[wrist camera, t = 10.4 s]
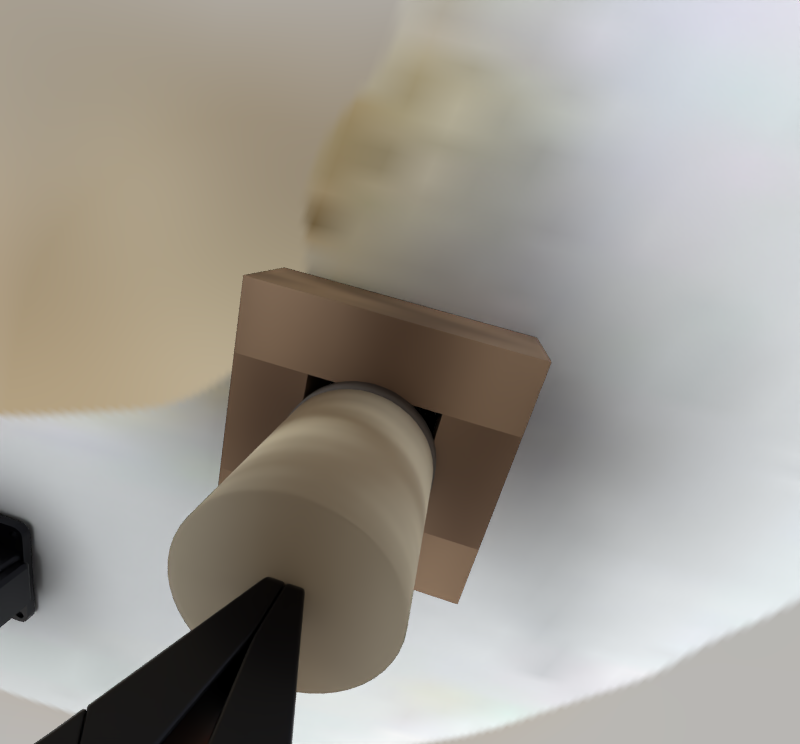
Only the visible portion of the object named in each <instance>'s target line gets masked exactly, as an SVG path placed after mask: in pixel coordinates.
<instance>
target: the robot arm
mask: <svg viewBox="0 0 800 744" xmlns="http://www.w3.org/2000/svg"><path fill="white" fill-rule="evenodd" d="M304 598H305V590H304V589H303V588H301V587H298V586H295V585H292V584H286V585H285V583H284V582H283V581H280V580H277V579H274V578H271V577H265V578H263V579H262V580H260V581H259V582H257V583H256V584H255V585H253V586H252V587H251V588H249V589H248V590H246V591H245V592H244V593H242V594H241V595H240V596H238V597H237V598H235V599H234V600H233V601H231V602H230V603H229V604H227V605H226V606H224V607H223V608H222V609H220V610H219V611H218V612H216V613H215V614H213V615H212V616H211V617H209V618H208V619H206V620H205V621H204V622H202V623H201V624H200V625H198V626H197V627H195V628H194V629H193V630H191V631H190V632H189V633H187V634H186V635H184V636H183V637H182V638H180V639H179V640H178V641H176V642H175V643H173V644H172V645H171V646H169V647H168V648H167V649H165V650H164V651H162V652H161V653H160V654H158V655H157V656H155V657H154V658H153V659H151V660H150V661H149V662H147V663H146V664H144V665H143V666H142V667H140V668H139V669H138V670H136V671H135V672H133V673H132V674H131V675H129V676H128V677H127V678H125V679H124V680H122V681H121V682H120V683H118V684H117V685H116V686H114V687H113V688H111V689H110V690H109V691H107V692H106V693H104V694H103V695H102V696H100V697H99V698H98V699H96V700H95V701H93V702H92V703H91V704H89V705H88V707H87V711H86V710H85V709H82V710H81V711H79V712H78V713H77V714H75V715H74V716H72V717H71V718H70V719H69V720H67V721H66V722H64V723H63V724H61V725H60V726H59V727H57V728H56V729H55V730H53V731H52V732H50V733H49V734H47V735H46V736H44V737H43V738H42V739H40V740H39V741H37V742H36V743H34V744H292V737H293V725H294V714H295V702H296V691H297V679H298V668H299V656H300V645H301V633H302V621H303V610H304ZM34 612H35V608H34V592H33V575H32V558H31V541H30V531H29V529H28V527H27V526H26V525H25V524H24V523H22V522H20V521H17V520H14V519H11V518H8V517H5V516H2V515H0V627H1V626H3V625H4V624H5V623H6V622H7V621H9V620H10V619H11V618H13V619H15V620H18V621H22V622H24V621H26V620H28V619H29V618H30V617H31V616H32V615H33V614H34Z"/></svg>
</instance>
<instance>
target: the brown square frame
mask: <svg viewBox="0 0 800 744" xmlns="http://www.w3.org/2000/svg"><path fill="white" fill-rule="evenodd" d="M550 365H551V360H550V359H549V357H548V355H547V354H546V352H545V350H544V349H543V347H542V345H541V344H540V342H539V340H538V339H537V338H536V337H532V336H529V335H525V334H521V333H518V332H514V331H511V330H507V329H504V328H500V327H496V326H493V325H489V324H486V323H482V322H478V321H475V320H471V319H468V318H464V317H460V316H457V315H453V314H450V313H446V312H443V311H439V310H435V309H432V308H428V307H425V306H421V305H417V304H414V303H410V302H407V301H403V300H399V299H396V298H392V297H389V296H385V295H381V294H378V293H374V292H371V291H367V290H364V289H360V288H356V287H353V286H349V285H346V284H342V283H338V282H335V281H331V280H328V279H324V278H320V277H317V276H313V275H310V274H306V273H302V272H299V271H295V270H292V269H288V268H279V269H275V270H269V271H263V272H258V273H252V274H247V275H244V276H243V283H242V291H241V299H240V308H239V316H238V324H237V333H236V342H235V349H234V359H233V366H232V374H231V383H230V391H229V399H228V408H227V416H226V424H225V433H224V441H223V449H222V458H221V466H220V474H219V483H218V486H219V485H220V484H221V483H222V482H223V481H224V480H225V479H226V478H227V477H228V476H229V475H230V474H231V473H232V472H233V471H234V470H235V469H236V468H237V467H238V466H239V465H240V464H241V463H242V462H243V461H244V460H245V459H246V458H247V457H248V456H249V455H250V454H251V453H252V452H253V451H254V450H255V449H256V448H257V447H258V446H259V445H260V444H261V443H262V442H263V441H264V440H265V439H266V438H267V437H268V436H269V435H270V434H271V433H272V432H273V431H274V430H275V429H276V428H277V427H278V426H279V425H280V424H281V423H282V422H284V421H285V420H286V419H287V417H288V416H289V414H290V413H291V412H292V411H293V410H294V408H295V407H296V406H297V405H298V404H299V403H300V402H301V401H303V400H304V399H305V398H306V397H307V396H308V395H309V394H311V393H313V392H314V391H316V390H317V389H319V388H322V387H324V386H326V385H329V383H330V381H332V382H336V383H338V382H344V381H359V382H367V383H372V384H376V385H379V386H381V387H384V388H387V389H389V390H391V391H393V392H395V393H396V394H398V395H399V396H401V397H402V398H404V399H405V400H406V401H408V402H409V403H410V404H411V405H413V406H417V407H420V408H423V409H427V410H430V411H433V412H437V413H439V414H438V417H437V420H436V423H435V427H434V430H433V433H432V437H433V439H434V444H435V448H436V470H435V476H434V481H433V485H432V489H431V491H430V496H429V502H428V508H427V514H426V520H425V526H424V532H423V538H422V543H421V549H420V555H419V561H418V567H417V573H416V579H415V585H414V590H416V591H419V592H422V593H425V594H428V595H431V596H434V597H437V598H440V599H443V600H446V601H449V602H452V603H455V604H458V601H459V599H460V596H461V594H462V591H463V589H464V586H465V583H466V581H467V578H468V576H469V573H470V571H471V568H472V565H473V563H474V560H475V558H476V555H477V553H478V550H479V547H480V545H481V542H482V540H483V537H484V535H485V532H486V529H487V527H488V524H489V522H490V519H491V517H492V514H493V511H494V509H495V506H496V504H497V501H498V498H499V496H500V493H501V491H502V488H503V486H504V483H505V480H506V478H507V475H508V473H509V470H510V468H511V465H512V462H513V460H514V457H515V455H516V452H517V450H518V447H519V444H520V442H521V439H522V437H523V434H524V432H525V429H526V426H527V424H528V421H529V419H530V416H531V414H532V411H533V408H534V406H535V403H536V401H537V398H538V396H539V393H540V390H541V388H542V385H543V383H544V380H545V378H546V375H547V372H548V370H549V367H550Z"/></svg>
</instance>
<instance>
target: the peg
mask: <svg viewBox="0 0 800 744" xmlns="http://www.w3.org/2000/svg"><path fill="white" fill-rule="evenodd" d="M435 470H436V448H435V444H434V439H433V437H432V434H431V431H430V429H429V427H428V425H427V424H426V422H425V420H424V419H423V417H422V416H421V415H420V413H419V412H418V411H417V410H416V409H415V408H414V407H413V406H412V405H411V404H410V403H409V402H408V401H406V400H405V399H404V398H402V397H401V396H399V395H398V394H396V393H395V392H393V391H391V390H389V389H387V388H384V387H381V386H379V385H376V384H372V383H367V382H359V381H344V382H338V383H333V384H330V385H326V386H324V387H322V388H319V389H317V390H316V391H314V392H313V393H311V394H309V395H308V396H307V397H306V398H305V399H304V400H303V401H301V402H300V403H299V404H298V405H297V406H296V407H295V408H294V410H293V411H292V412H291V413H290V414H289V416H288V417H287V419H286V420H285V421H284V422H282V423H281V424H280V425H279V426H278V427H277V428H276V429H275V430H274V431H273V432H272V433H271V434H270V435H269V436H268V437H267V438H266V439H265V440H264V441H263V442H262V443H261V444H260V445H259V446H258V447H257V448H256V449H255V450H254V451H253V452H252V453H251V454H250V455H249V456H248V457H247V458H246V459H245V460H244V461H243V462H242V463H241V464H240V465H239V466H238V467H237V468H236V469H235V470H234V471H233V472H232V473H231V474H230V475H229V476H228V477H227V478H226V479H225V480H224V481H223V482H222V483H221V484H220V485H219V486H218V487H217V488H216V489H215V490H214V491H213V492H212V493H211V494H210V495H209V496H208V497H207V498H206V499H205V500H204V501H203V502H202V503H201V504H200V505H199V506H198V507H197V508H196V509H195V510H194V511H193V512H192V513H191V514H190V515H189V516H188V517H187V518H186V519H185V520H184V522H183V523H182V524H181V525H180V527H179V528H178V530H177V532H176V534H175V536H174V538H173V541H172V544H171V546H170V550H169V556H168V579H169V585H170V589H171V593H172V596H173V599H174V601H175V604H176V606H177V608H178V611H179V612H180V614H181V616H182V618H183V619H184V621H185V623H186V624H187V626H188V627H189V628H190V630H193V629H194V628H195V627H197V626H198V625H200V624H201V623H202V622H204V621H205V620H206V619H208V618H209V617H211V616H212V615H213V614H215V613H216V612H218V611H219V610H220V609H222V608H223V607H224V606H226V605H227V604H229V603H230V602H231V601H233V600H234V599H235V598H237V597H238V596H240V595H241V594H242V593H244V592H245V591H246V590H248V589H249V588H251V587H252V586H253V585H255V584H256V583H257V582H259V581H260V580H262V579H263V578H265V577H271V578H274V579H277V580H280V581H283V582H284V583H285V585H286V584H292V585H295V586H298V587H301V588H303V589H304V590H305V598H304V610H303V621H302V633H301V645H300V656H299V668H298V679H297V691H296V692H301V693H333V692H339V691H344V690H348V689H352V688H355V687H357V686H360V685H363V684H365V683H366V682H368V681H370V680H372V679H374V678H375V677H377V676H378V675H379V674H381V673H382V672H383V671H384V670H385V669H386V668H387V667H388V666H389V665H390V664H391V663H392V662H393V660H394V659H395V657H396V656H397V655H398V653H399V651H400V649H401V647H402V644H403V642H404V639H405V635H406V631H407V626H408V620H409V614H410V609H411V603H412V597H413V591H414V585H415V579H416V573H417V567H418V561H419V555H420V549H421V543H422V538H423V532H424V526H425V520H426V514H427V508H428V502H429V496H430V491H431V489H432V485H433V481H434V476H435Z"/></svg>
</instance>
